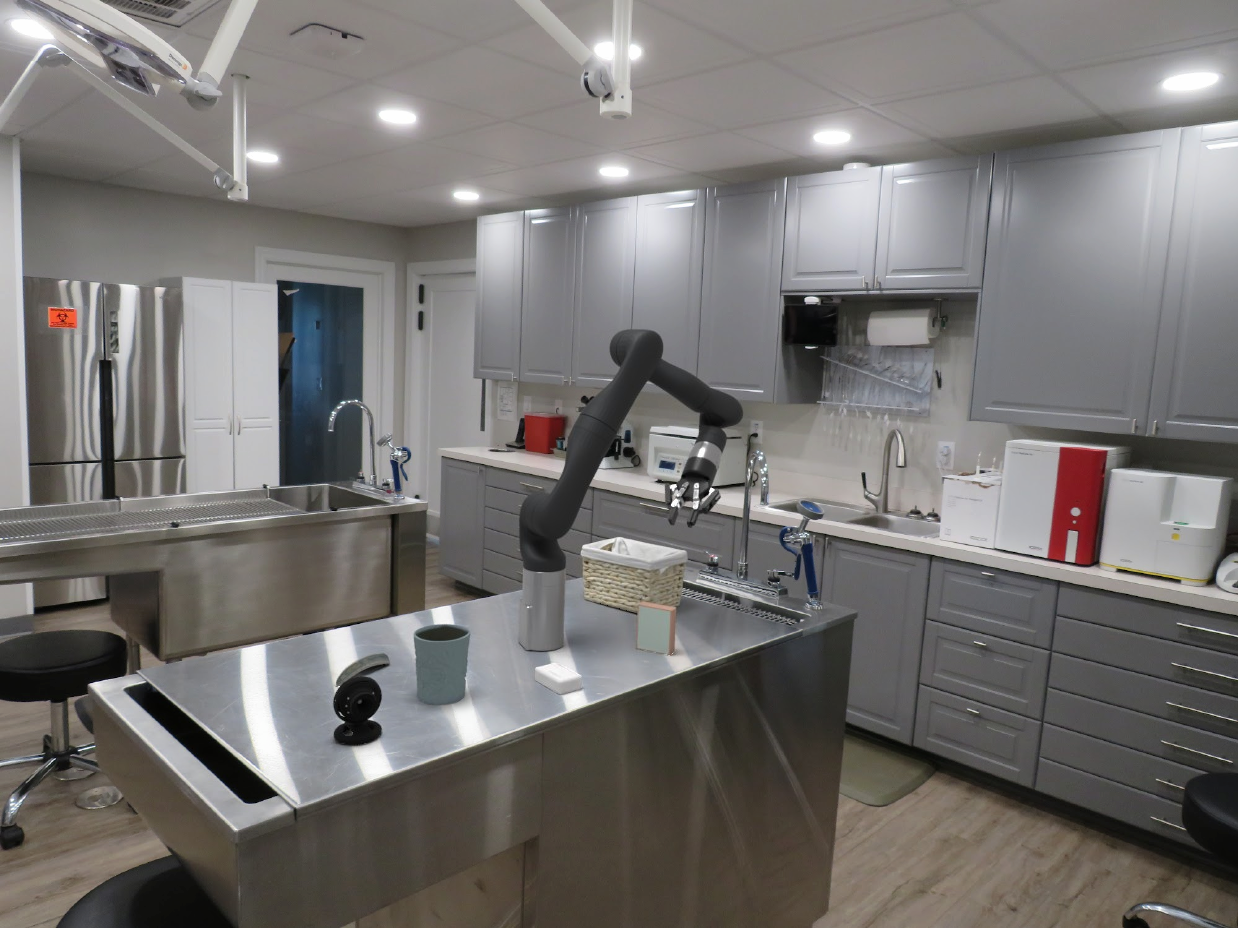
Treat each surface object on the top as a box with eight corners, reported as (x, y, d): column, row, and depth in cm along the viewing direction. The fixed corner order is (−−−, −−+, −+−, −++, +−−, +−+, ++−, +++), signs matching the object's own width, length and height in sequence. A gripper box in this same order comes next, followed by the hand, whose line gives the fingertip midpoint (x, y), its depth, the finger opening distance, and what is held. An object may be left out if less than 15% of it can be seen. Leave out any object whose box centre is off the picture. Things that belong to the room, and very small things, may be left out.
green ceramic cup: (414, 708, 146) (414, 642, 145) (411, 686, 156) (412, 624, 154) (472, 703, 149) (473, 639, 148) (466, 682, 159) (467, 621, 157)
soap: (583, 690, 158) (583, 674, 157) (559, 696, 154) (560, 681, 154) (556, 675, 165) (556, 660, 164) (533, 681, 161) (533, 666, 161)
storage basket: (576, 599, 216) (578, 544, 214) (616, 587, 228) (618, 535, 226) (649, 620, 201) (651, 560, 199) (687, 606, 213) (690, 550, 211)
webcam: (341, 750, 130) (340, 689, 129) (326, 732, 136) (326, 673, 135) (389, 738, 135) (389, 679, 133) (373, 721, 141) (373, 664, 139)
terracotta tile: (640, 645, 183) (642, 601, 181) (674, 652, 179) (676, 607, 178) (635, 648, 180) (637, 604, 179) (669, 655, 177) (671, 610, 176)
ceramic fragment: (338, 688, 154) (338, 668, 154) (319, 682, 157) (319, 663, 156) (393, 667, 166) (393, 649, 166) (374, 662, 169) (375, 643, 168)
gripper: (670, 452, 196) (646, 511, 187) (727, 457, 190) (706, 518, 180) (678, 472, 201) (655, 530, 192) (733, 478, 195) (713, 538, 186)
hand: (680, 524), depth 186 cm, fingers open, 3 cm apart
